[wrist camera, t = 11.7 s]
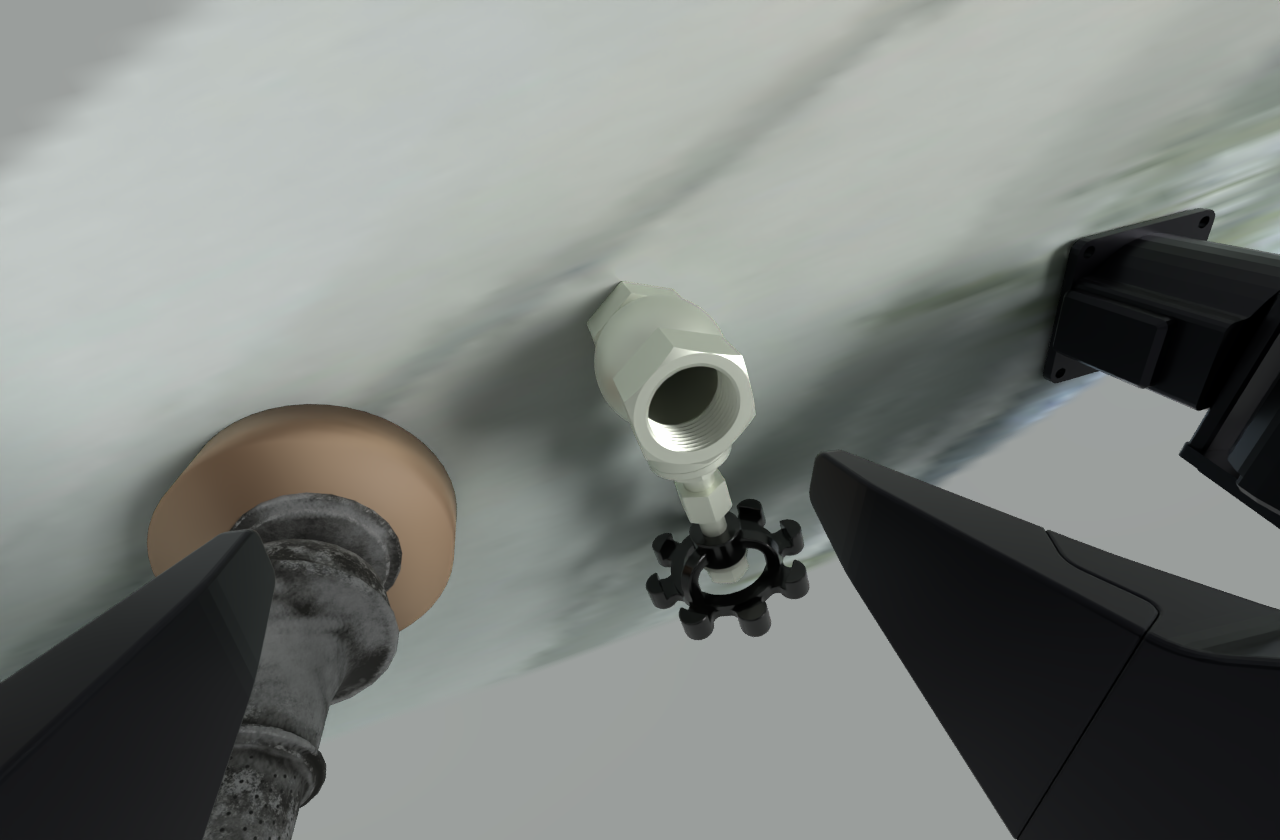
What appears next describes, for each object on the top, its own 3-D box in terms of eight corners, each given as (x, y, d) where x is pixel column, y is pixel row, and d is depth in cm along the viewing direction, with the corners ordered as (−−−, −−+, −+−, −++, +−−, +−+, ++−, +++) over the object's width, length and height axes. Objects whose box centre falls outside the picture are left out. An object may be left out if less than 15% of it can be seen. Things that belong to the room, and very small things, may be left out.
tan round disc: (405, 375, 19) (396, 408, 17) (486, 564, 24) (486, 608, 22) (123, 445, 18) (76, 490, 16) (265, 629, 23) (242, 682, 21)
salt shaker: (194, 487, 17) (-250, 1070, 7) (406, 482, 18) (312, 948, 8) (232, 629, 20) (-43, 1202, 9) (415, 614, 21) (351, 1090, 11)
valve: (529, 309, 19) (634, 549, 26) (547, 391, 14) (676, 673, 20) (707, 240, 20) (768, 493, 26) (796, 293, 14) (846, 600, 20)
